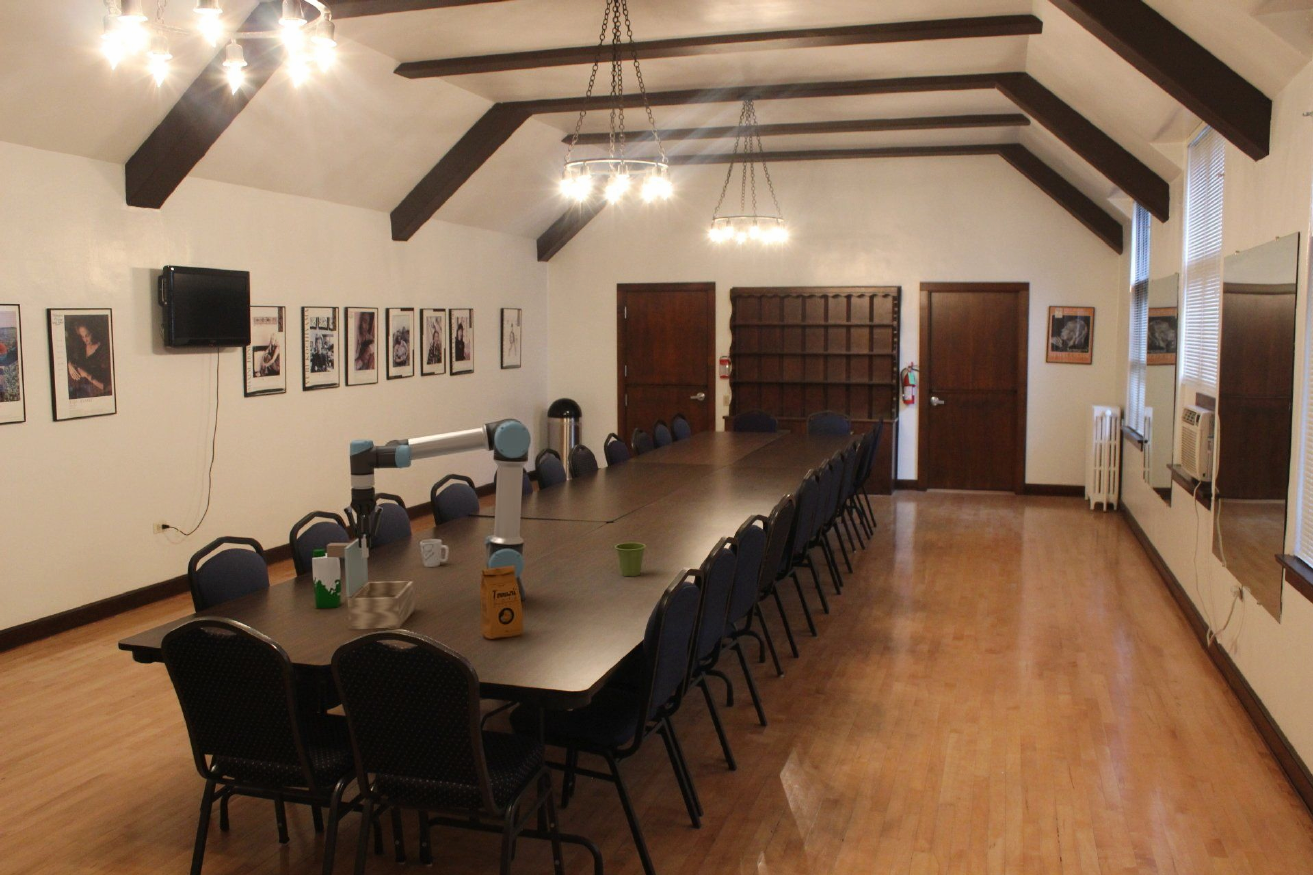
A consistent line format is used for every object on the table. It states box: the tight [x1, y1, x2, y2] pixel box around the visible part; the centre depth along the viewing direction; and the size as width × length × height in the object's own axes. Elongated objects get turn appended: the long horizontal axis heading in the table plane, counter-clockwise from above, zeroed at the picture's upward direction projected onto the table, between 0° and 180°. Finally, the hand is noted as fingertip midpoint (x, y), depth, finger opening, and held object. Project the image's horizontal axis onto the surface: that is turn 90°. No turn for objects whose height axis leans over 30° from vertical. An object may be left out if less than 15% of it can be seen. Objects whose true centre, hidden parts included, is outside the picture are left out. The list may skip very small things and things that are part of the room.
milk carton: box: [311, 548, 342, 610], centre depth 366 cm, size 9×9×20 cm
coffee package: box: [479, 566, 524, 640], centre depth 327 cm, size 10×12×22 cm
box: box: [347, 580, 416, 630], centre depth 348 cm, size 16×22×10 cm
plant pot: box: [614, 542, 647, 577], centre depth 402 cm, size 12×12×11 cm
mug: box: [419, 538, 450, 568], centre depth 424 cm, size 11×8×10 cm
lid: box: [326, 534, 369, 598], centre depth 347 cm, size 16×21×10 cm
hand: (365, 557), depth 346 cm, fingers closed
